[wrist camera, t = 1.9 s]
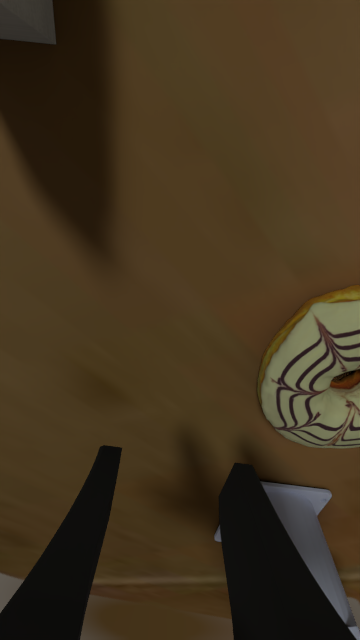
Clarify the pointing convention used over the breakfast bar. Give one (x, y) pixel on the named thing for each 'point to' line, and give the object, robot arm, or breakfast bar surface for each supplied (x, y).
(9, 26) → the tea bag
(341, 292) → the decorated donut
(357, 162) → the breakfast bar surface
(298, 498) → the robot arm
